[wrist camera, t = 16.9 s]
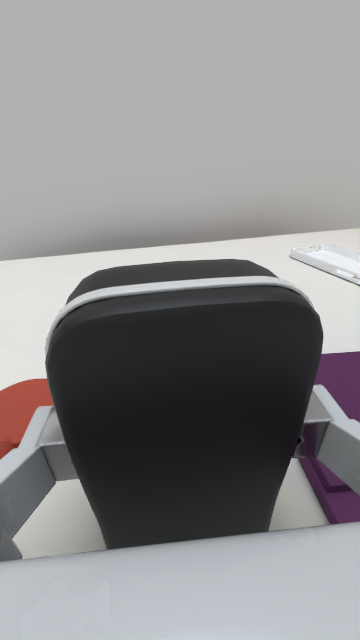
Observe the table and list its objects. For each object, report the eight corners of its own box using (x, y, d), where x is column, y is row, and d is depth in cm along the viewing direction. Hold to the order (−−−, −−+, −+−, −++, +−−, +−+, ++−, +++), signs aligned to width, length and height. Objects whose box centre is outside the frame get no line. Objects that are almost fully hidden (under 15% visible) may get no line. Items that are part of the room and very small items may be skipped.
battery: (243, 456, 15) (275, 241, 9) (274, 539, 12) (355, 286, 6) (109, 478, 14) (55, 255, 8) (104, 574, 11) (7, 316, 5)
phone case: (419, 282, 35) (324, 251, 47) (423, 272, 34) (326, 242, 46) (376, 292, 32) (288, 256, 45) (380, 281, 32) (289, 248, 44)
